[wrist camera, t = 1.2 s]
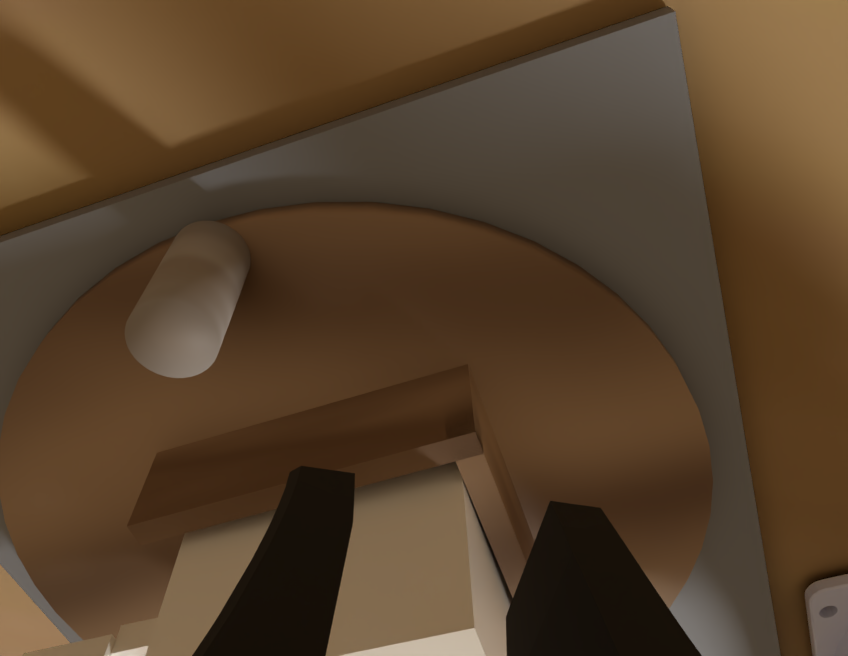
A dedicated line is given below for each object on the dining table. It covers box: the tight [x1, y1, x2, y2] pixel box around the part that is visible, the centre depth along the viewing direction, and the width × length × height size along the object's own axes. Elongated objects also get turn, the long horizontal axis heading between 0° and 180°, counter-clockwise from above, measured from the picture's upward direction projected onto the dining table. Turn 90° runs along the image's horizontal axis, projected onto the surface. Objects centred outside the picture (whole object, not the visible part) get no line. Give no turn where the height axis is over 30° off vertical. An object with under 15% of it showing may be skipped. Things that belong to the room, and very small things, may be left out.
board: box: [0, 6, 781, 656], centre depth 24 cm, size 30×20×1 cm, turn 19°
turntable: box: [0, 202, 713, 640], centre depth 20 cm, size 18×18×4 cm
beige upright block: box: [23, 461, 513, 656], centre depth 19 cm, size 12×6×6 cm, turn 107°
